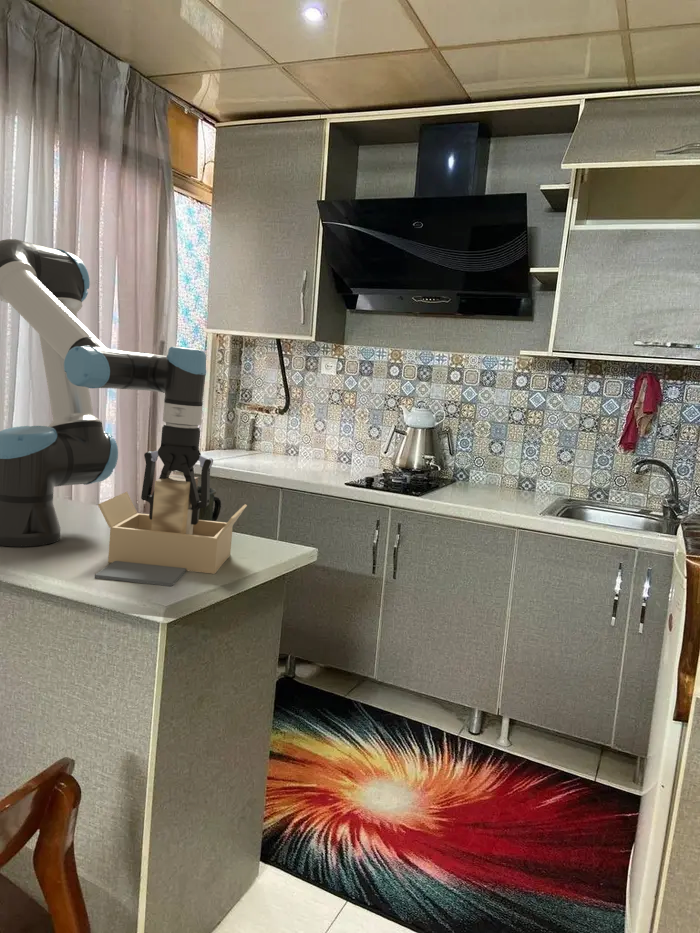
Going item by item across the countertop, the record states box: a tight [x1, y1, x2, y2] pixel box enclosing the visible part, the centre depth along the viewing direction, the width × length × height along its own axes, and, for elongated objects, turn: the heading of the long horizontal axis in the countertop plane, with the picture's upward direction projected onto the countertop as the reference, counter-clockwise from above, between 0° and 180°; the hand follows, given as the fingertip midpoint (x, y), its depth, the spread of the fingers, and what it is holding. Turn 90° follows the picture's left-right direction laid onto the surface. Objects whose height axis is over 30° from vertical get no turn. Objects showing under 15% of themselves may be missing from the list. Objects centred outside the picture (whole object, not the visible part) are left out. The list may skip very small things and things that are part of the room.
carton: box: [97, 491, 248, 575], centre depth 145 cm, size 26×15×12 cm, turn 88°
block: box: [151, 473, 199, 534], centre depth 145 cm, size 6×10×14 cm, turn 178°
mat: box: [94, 561, 187, 587], centre depth 133 cm, size 14×10×1 cm
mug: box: [197, 485, 222, 522], centre depth 162 cm, size 11×15×12 cm
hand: (172, 537), depth 145 cm, fingers closed on block, 6 cm apart
